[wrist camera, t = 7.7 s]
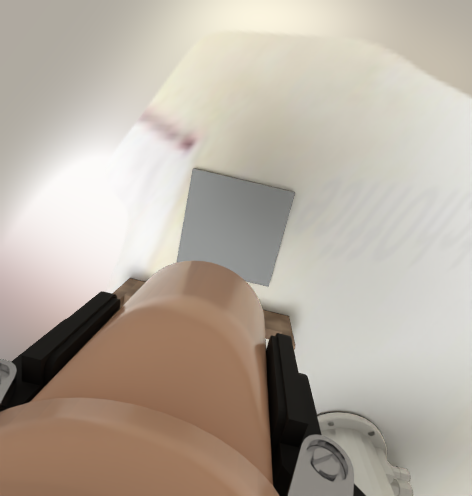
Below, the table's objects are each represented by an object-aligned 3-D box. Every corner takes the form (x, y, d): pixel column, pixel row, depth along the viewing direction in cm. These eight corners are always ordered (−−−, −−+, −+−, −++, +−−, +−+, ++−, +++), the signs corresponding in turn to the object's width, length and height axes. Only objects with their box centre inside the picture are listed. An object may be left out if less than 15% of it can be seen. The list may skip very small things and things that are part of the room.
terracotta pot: (291, 272, 12) (388, 563, 3) (253, 398, 14) (248, 790, 5) (134, 235, 12) (-197, 421, 3) (118, 366, 14) (-114, 701, 5)
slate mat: (294, 191, 30) (295, 192, 29) (268, 283, 33) (268, 286, 32) (194, 168, 30) (192, 168, 29) (178, 262, 33) (176, 264, 32)
